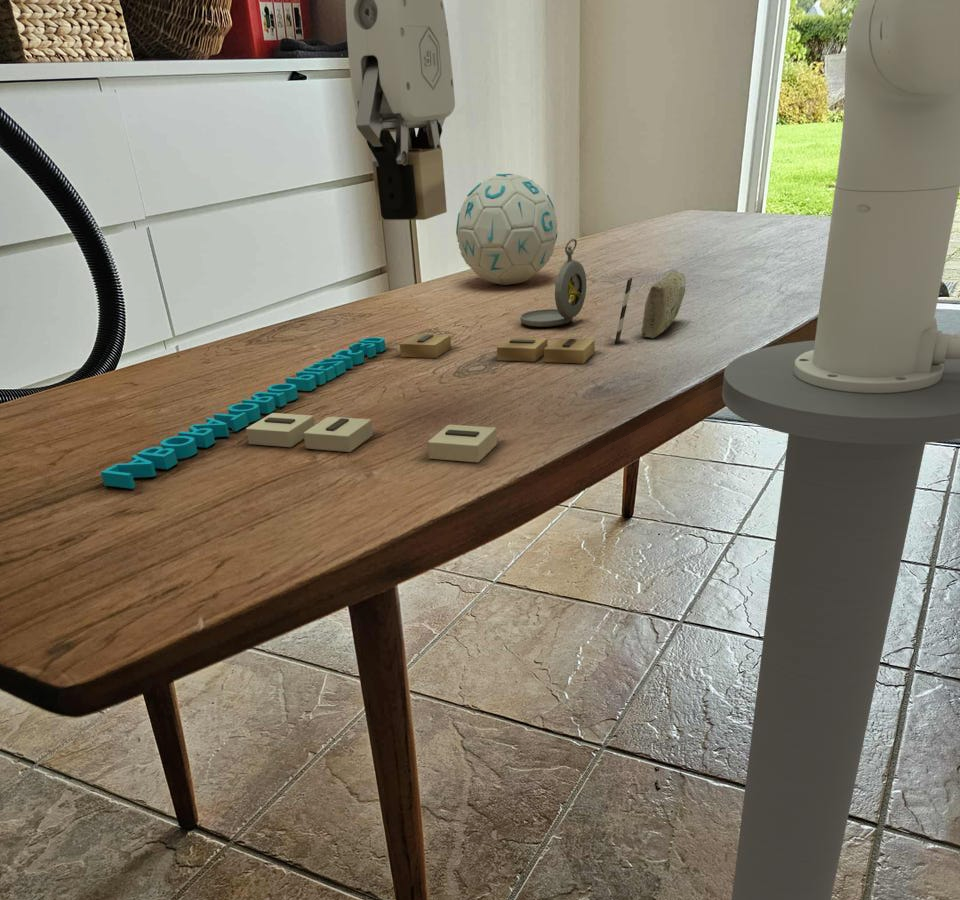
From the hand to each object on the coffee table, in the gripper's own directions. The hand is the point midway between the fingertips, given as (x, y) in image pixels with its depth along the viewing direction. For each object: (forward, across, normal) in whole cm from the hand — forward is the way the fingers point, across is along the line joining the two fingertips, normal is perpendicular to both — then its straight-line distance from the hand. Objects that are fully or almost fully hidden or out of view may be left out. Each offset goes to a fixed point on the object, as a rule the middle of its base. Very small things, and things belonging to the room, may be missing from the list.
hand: (413, 211), depth 78 cm
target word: (+17, -11, +1) cm, 20 cm away
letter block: (0, 0, 0) cm, 0 cm away
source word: (+17, +19, +1) cm, 26 cm away
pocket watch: (+18, +34, -1) cm, 38 cm away
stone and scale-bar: (+18, +32, -14) cm, 39 cm away
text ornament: (+17, -3, +17) cm, 24 cm away
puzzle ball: (+18, +59, +14) cm, 63 cm away
